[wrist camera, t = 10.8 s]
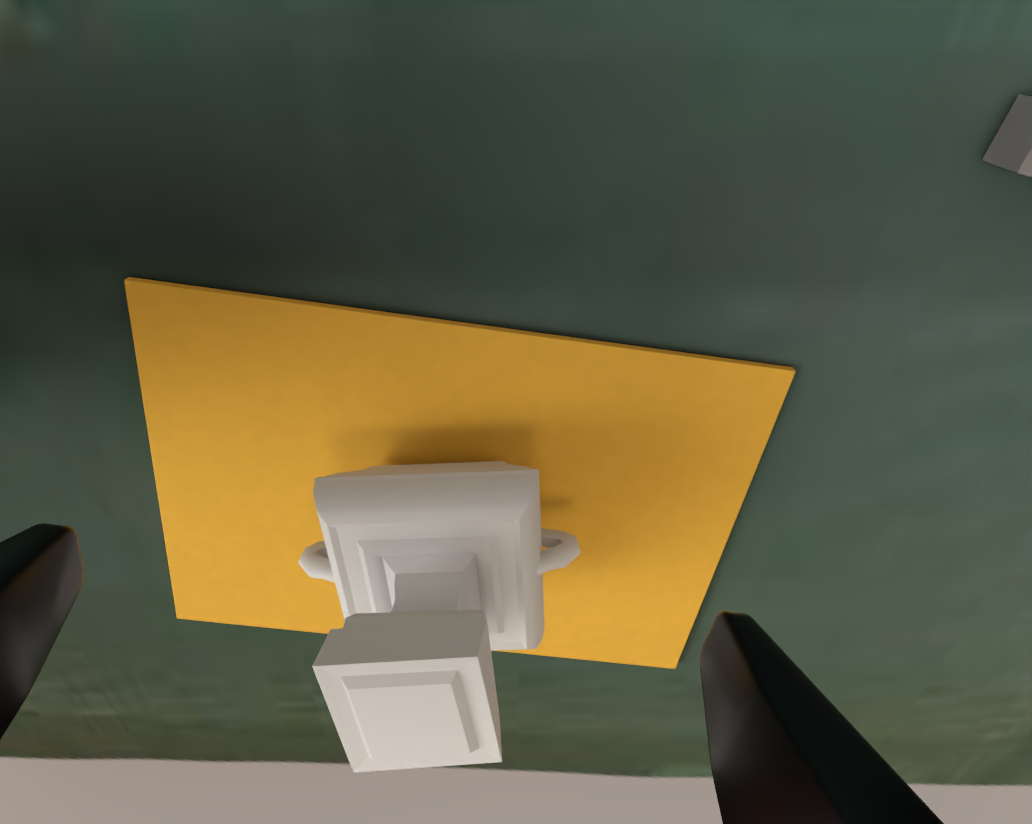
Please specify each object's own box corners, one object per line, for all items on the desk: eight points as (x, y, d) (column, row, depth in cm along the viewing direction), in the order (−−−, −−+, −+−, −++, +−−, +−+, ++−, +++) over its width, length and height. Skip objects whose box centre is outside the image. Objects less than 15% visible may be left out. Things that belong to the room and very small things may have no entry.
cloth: (179, 612, 27) (176, 618, 27) (128, 276, 20) (123, 280, 20) (674, 663, 29) (675, 669, 28) (793, 366, 21) (796, 371, 21)
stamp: (335, 582, 26) (265, 810, 19) (296, 434, 22) (190, 644, 15) (576, 572, 25) (599, 800, 18) (573, 421, 22) (600, 628, 15)
